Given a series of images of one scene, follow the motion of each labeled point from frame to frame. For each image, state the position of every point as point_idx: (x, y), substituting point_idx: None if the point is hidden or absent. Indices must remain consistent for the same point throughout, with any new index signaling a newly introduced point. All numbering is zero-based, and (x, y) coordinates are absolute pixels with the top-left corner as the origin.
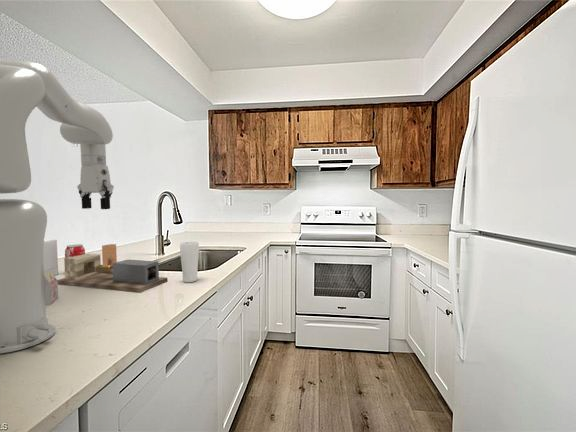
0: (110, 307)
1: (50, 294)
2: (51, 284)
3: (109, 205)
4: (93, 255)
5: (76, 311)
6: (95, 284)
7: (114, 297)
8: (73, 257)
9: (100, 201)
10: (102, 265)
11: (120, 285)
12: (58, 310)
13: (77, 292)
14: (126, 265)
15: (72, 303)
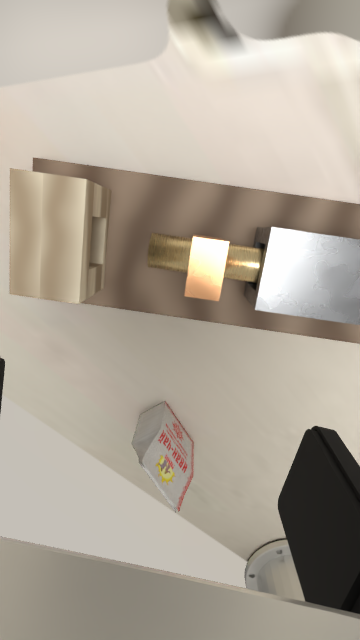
0: (349, 444)
1: (192, 459)
2: (187, 467)
3: (347, 461)
4: (79, 215)
5: (286, 470)
6: (199, 319)
7: (314, 383)
8: (31, 272)
9: (303, 593)
10: (169, 259)
11: (292, 325)
12: (241, 469)
13: (177, 357)
14: (323, 318)
15: (237, 431)
